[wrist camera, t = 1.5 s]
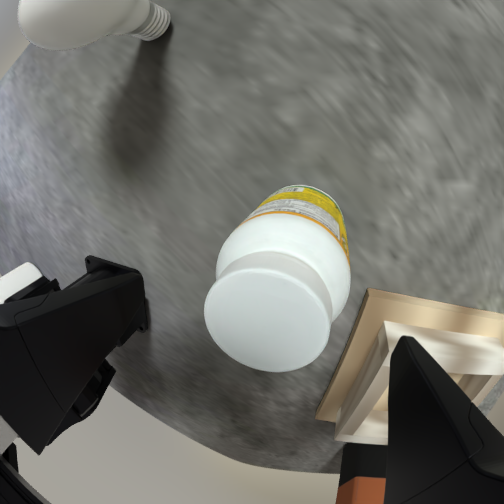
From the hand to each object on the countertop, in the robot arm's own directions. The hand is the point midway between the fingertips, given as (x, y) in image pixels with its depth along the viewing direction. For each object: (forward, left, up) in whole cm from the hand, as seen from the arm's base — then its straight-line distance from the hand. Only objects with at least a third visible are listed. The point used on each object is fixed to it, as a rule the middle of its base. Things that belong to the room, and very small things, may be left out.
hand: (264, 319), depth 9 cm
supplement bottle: (0, 0, -9) cm, 9 cm away
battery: (+14, -22, -9) cm, 27 cm away
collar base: (+12, -10, -9) cm, 18 cm away
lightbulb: (-11, +13, -9) cm, 19 cm away
